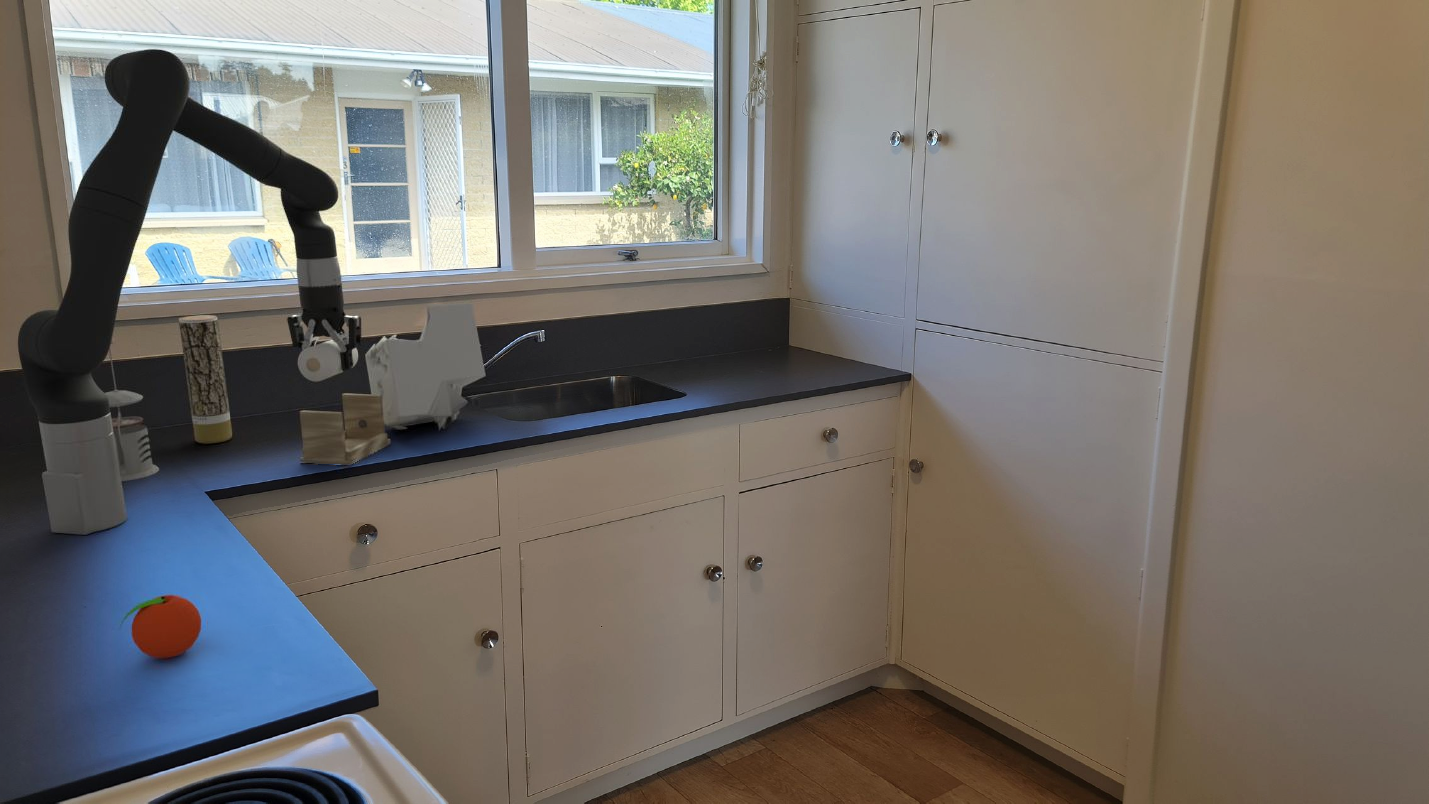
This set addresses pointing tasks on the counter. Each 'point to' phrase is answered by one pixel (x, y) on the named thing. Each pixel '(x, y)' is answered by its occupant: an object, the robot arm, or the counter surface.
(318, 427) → the holder
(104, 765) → the counter surface
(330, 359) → the roll
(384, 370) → the white jagged block
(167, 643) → the clementine
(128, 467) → the french press
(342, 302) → the robot arm
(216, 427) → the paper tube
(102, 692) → the counter surface
